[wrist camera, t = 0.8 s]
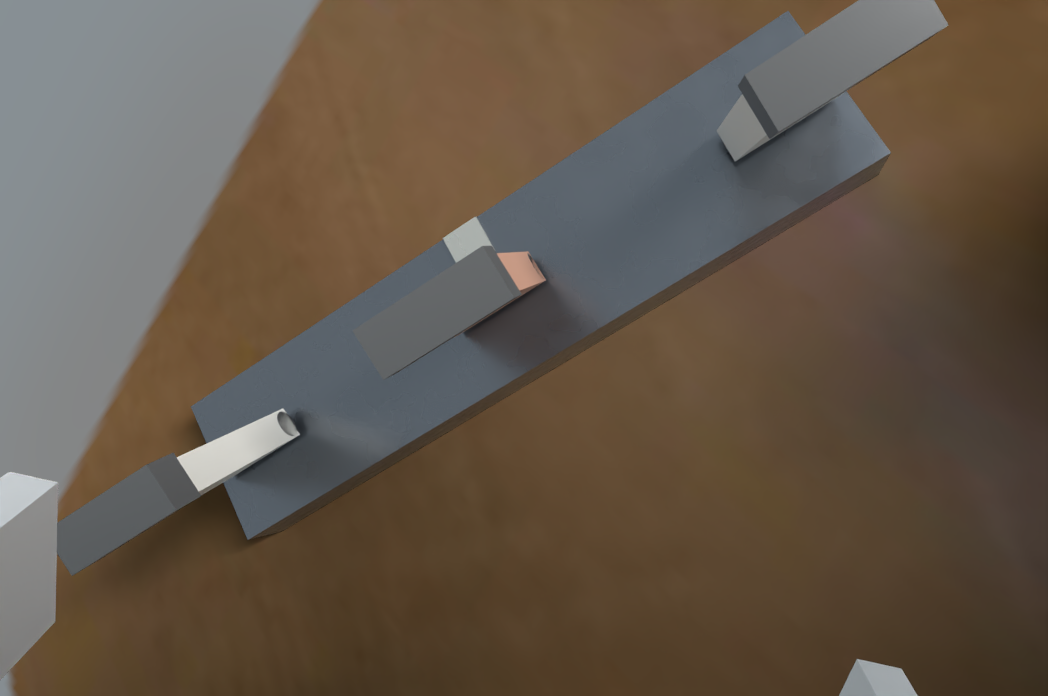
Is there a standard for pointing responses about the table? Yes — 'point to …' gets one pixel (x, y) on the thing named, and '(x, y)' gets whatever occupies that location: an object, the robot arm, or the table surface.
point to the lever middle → (446, 307)
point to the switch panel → (559, 302)
